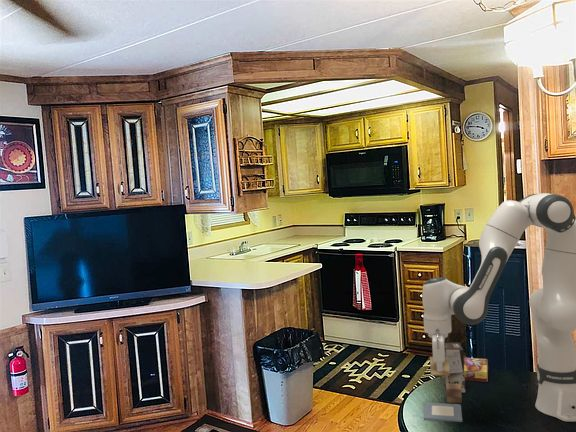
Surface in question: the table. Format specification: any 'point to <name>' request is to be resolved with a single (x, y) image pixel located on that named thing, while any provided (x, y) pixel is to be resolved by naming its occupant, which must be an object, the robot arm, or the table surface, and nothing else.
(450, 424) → the table surface
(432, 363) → the oak block
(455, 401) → the walnut cube
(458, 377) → the coffee box
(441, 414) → the plate
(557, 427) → the table surface
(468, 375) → the candy box
